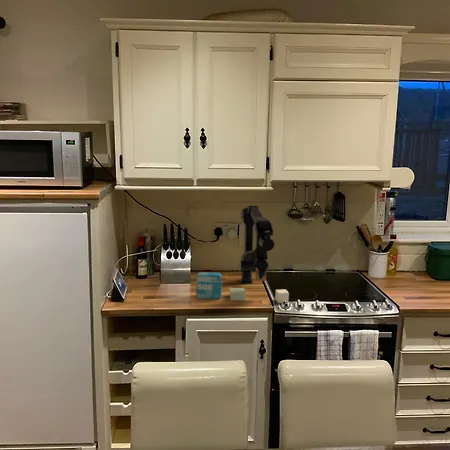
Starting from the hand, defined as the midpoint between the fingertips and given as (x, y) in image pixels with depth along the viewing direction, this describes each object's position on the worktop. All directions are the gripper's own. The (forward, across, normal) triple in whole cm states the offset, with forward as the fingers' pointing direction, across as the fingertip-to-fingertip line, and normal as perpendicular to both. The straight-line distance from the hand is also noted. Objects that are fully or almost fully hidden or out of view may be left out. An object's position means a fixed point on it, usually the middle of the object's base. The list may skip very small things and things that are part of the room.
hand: (260, 276), depth 226 cm
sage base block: (+11, +1, -11) cm, 16 cm away
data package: (+11, +2, -25) cm, 27 cm away
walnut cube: (+1, 0, 0) cm, 1 cm away
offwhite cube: (+11, +3, +10) cm, 15 cm away
